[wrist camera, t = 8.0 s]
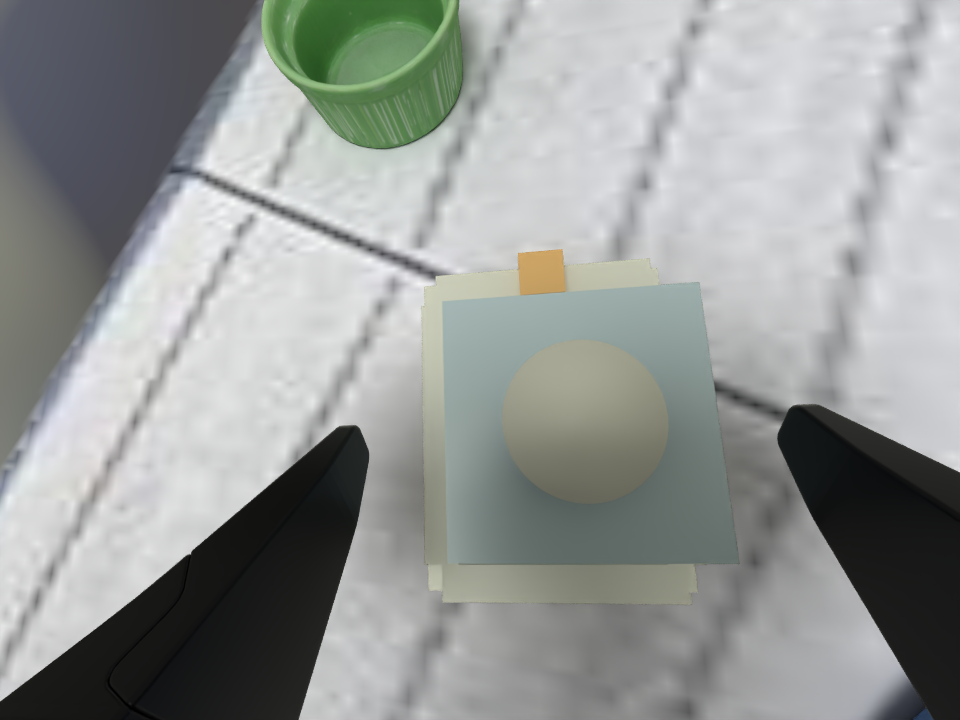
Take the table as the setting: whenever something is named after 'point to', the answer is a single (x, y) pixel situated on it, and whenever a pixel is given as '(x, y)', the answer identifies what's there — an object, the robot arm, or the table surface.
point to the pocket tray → (453, 580)
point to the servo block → (584, 430)
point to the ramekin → (370, 63)
